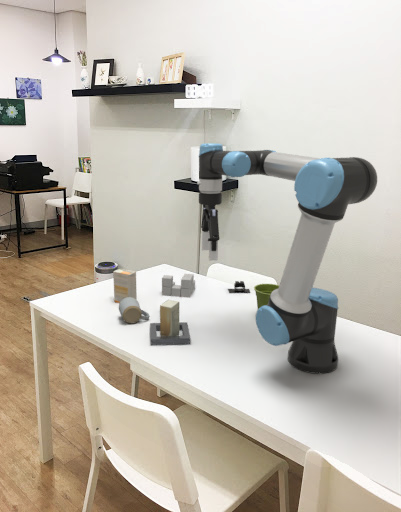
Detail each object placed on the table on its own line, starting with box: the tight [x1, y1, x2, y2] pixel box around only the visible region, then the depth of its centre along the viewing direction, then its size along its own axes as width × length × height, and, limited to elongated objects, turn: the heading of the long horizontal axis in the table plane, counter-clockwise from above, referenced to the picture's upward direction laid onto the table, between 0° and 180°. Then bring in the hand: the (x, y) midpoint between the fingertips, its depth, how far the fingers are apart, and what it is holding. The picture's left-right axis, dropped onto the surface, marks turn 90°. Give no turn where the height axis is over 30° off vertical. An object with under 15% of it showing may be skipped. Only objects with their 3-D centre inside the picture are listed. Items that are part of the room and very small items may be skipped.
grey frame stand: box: [149, 321, 192, 346], centre depth 175 cm, size 31×13×2 cm, turn 6°
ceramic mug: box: [118, 297, 150, 324], centre depth 178 cm, size 11×8×8 cm
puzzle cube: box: [161, 273, 196, 298], centre depth 208 cm, size 12×12×8 cm
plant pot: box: [253, 283, 280, 310], centre depth 183 cm, size 12×12×11 cm
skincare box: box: [159, 299, 180, 336], centre depth 164 cm, size 6×4×12 cm
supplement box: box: [112, 268, 138, 304], centre depth 194 cm, size 8×5×13 cm, turn 58°
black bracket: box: [227, 280, 251, 294], centre depth 211 cm, size 12×7×5 cm, turn 93°
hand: (209, 255), depth 165 cm, fingers open, 13 cm apart
